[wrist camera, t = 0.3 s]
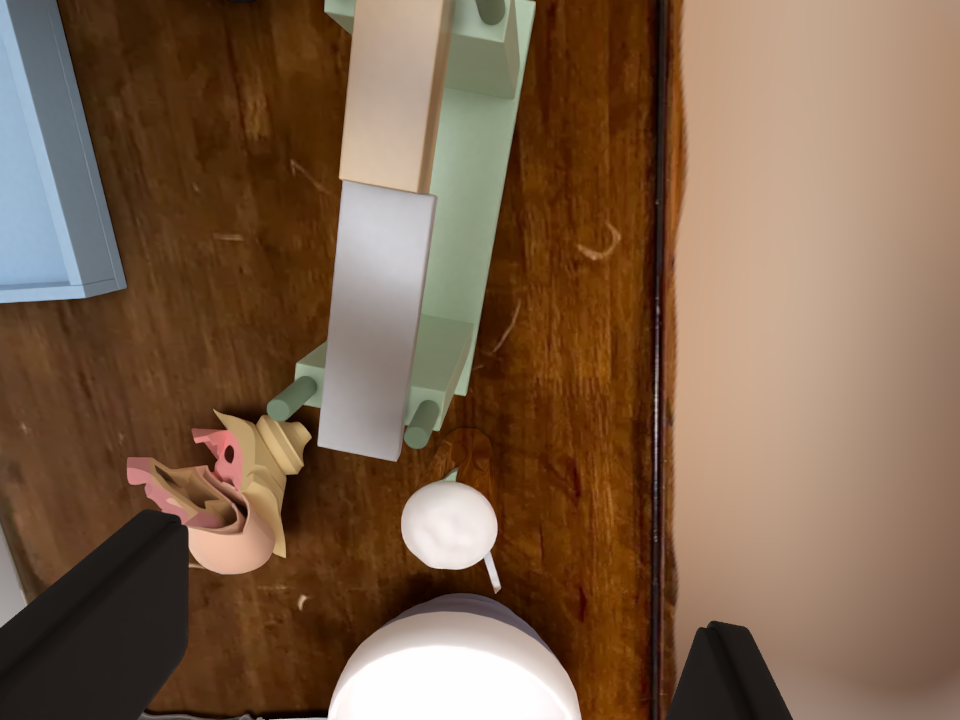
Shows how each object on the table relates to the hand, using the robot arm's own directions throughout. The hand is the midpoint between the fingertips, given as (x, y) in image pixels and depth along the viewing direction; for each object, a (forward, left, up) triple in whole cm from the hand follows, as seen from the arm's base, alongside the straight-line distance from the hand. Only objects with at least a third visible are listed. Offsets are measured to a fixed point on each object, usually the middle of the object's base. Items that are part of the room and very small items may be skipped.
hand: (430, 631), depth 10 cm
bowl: (+22, +2, -23) cm, 32 cm away
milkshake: (+8, 0, -23) cm, 24 cm away
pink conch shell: (+12, -13, -23) cm, 29 cm away
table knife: (-6, -4, -11) cm, 13 cm away
